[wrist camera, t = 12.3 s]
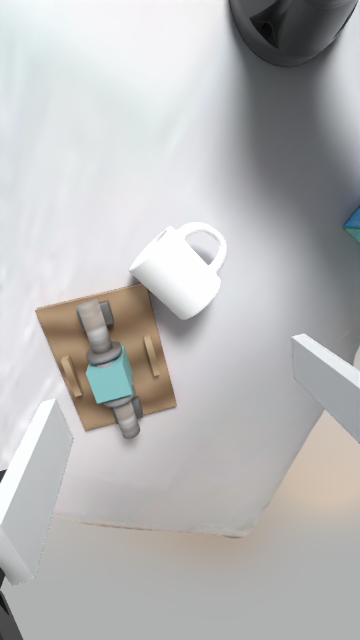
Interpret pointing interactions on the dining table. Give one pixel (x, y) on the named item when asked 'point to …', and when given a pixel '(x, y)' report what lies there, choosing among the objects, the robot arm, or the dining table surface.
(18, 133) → the dining table surface
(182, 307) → the mug
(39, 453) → the robot arm
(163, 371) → the shaft board
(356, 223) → the milk carton
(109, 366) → the block
